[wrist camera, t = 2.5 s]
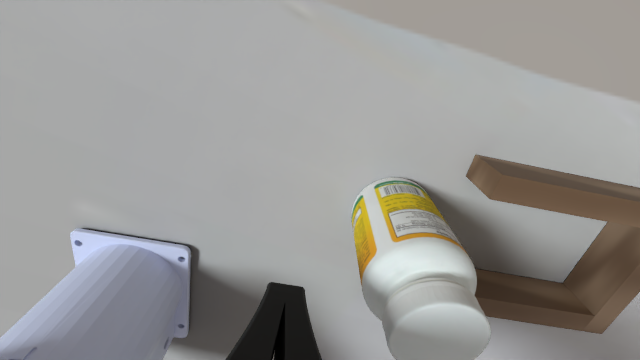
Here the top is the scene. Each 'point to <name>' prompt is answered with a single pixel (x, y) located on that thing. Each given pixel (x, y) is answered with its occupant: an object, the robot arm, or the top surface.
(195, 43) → the top surface
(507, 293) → the u rest
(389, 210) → the supplement bottle
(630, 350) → the top surface
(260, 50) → the top surface
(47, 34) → the top surface
